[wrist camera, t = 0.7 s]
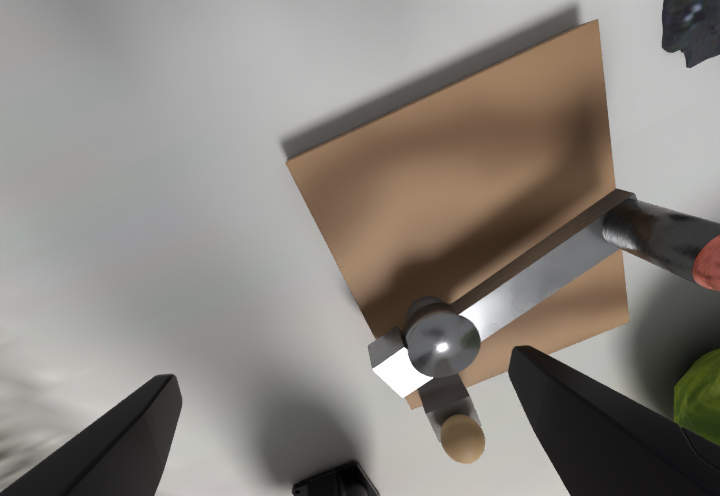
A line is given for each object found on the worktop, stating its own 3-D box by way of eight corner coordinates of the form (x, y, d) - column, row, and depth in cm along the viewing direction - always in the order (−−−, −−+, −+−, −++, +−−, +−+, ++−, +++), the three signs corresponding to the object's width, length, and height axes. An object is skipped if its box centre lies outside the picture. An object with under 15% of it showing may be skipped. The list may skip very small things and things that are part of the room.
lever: (400, 378, 24) (439, 509, 16) (361, 340, 22) (384, 465, 14) (626, 225, 21) (806, 293, 13) (601, 169, 19) (789, 209, 12)
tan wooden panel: (614, 315, 27) (710, 383, 20) (409, 398, 28) (436, 489, 22) (577, 25, 19) (720, -21, 12) (287, 159, 20) (271, 184, 13)
